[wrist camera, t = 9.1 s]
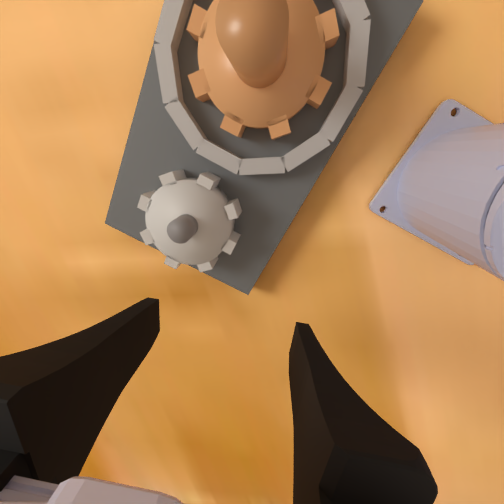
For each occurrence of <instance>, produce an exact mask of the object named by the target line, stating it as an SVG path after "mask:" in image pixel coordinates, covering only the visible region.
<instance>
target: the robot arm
mask: <svg viewBox="0 0 504 504" xmlns="http://www.w3.org/2000/svg"><path fill="white" fill-rule="evenodd" d="M452 109H455V110H456V114H455V116H452V115H451V111H452ZM382 206H385V210H384V211H383V212H380V208H381V207H382ZM369 209H370V210H371V211H372V212H374V213H376V214H377V215H379V216H381V217H383V218H385V219H386V220H388V221H390V222H392V223H394V224H395V225H397V226H399V227H401V228H403V229H404V230H406V231H408V232H410V233H412V234H414V235H415V236H417V237H419V238H421V239H423V240H424V241H426V242H428V243H430V244H432V245H433V246H435V247H437V248H439V249H441V250H443V251H444V252H446V253H448V254H450V255H452V256H453V257H455V258H457V259H459V260H461V261H462V262H464V263H466V264H468V265H473V264H476V265H477V266H479V267H481V268H482V269H484V270H486V271H487V272H489V273H491V274H492V275H494V276H496V277H498V278H499V279H501V280H503V281H504V123H500V124H493V123H491V122H490V121H488V120H486V119H485V118H483V117H482V116H480V115H478V114H477V113H475V112H473V111H472V110H470V109H468V108H467V107H465V106H464V105H462V104H460V103H459V102H457V101H455V100H453V99H448V100H445V101H443V102H442V103H441V104H440V105H439V106H438V107H437V109H436V110H435V112H434V113H433V114H432V116H431V117H430V119H429V120H428V121H427V123H426V124H425V126H424V127H423V128H422V130H421V131H420V133H419V134H418V135H417V137H416V138H415V140H414V141H413V143H412V144H411V145H410V147H409V148H408V150H407V151H406V152H405V154H404V155H403V157H402V158H401V159H400V161H399V162H398V164H397V165H396V167H395V168H394V169H393V171H392V172H391V174H390V175H389V176H388V178H387V179H386V181H385V182H384V183H383V185H382V186H381V188H380V189H379V191H378V192H377V193H376V195H375V196H374V198H373V199H372V200H371V202H370V204H369ZM159 331H160V321H159V299H154V298H146V299H144V300H142V301H140V302H138V303H136V304H134V305H132V306H131V307H129V308H127V309H125V310H123V311H121V312H120V313H118V314H116V315H114V316H112V317H110V318H108V319H106V320H104V321H102V322H100V323H98V324H96V325H94V326H92V327H89V328H87V329H85V330H83V331H80V332H78V333H75V334H73V335H70V336H68V337H65V338H62V339H59V340H56V341H53V342H51V343H48V344H45V345H42V346H39V347H35V348H32V349H28V350H25V351H21V352H17V353H14V354H10V355H6V356H2V357H0V504H183V503H182V502H181V501H179V500H178V499H177V498H175V497H173V496H170V495H167V494H164V493H162V492H158V491H153V490H148V489H143V488H139V487H134V486H129V485H124V484H119V483H115V482H110V481H105V480H100V479H96V478H91V477H78V476H79V474H80V472H81V469H82V467H83V465H84V463H85V461H86V459H87V457H88V455H89V453H90V451H91V449H92V447H93V445H94V443H95V441H96V439H97V437H98V435H99V433H100V431H101V429H102V427H103V425H104V423H105V421H106V419H107V417H108V416H109V414H110V412H111V410H112V408H113V406H114V405H115V403H116V401H117V399H118V397H119V396H120V394H121V392H122V391H123V389H124V388H125V386H126V385H127V383H128V382H129V380H130V379H131V377H132V376H133V374H134V373H135V371H136V370H137V368H138V367H139V365H140V364H141V363H142V361H143V360H144V358H145V357H146V355H147V354H148V352H149V351H150V349H151V347H152V345H153V344H154V342H155V340H156V338H157V336H158V333H159ZM289 380H290V390H291V401H292V411H293V425H294V484H293V504H433V503H434V501H435V498H436V496H437V494H438V488H437V484H436V482H435V480H434V478H433V476H432V474H431V471H430V469H429V467H428V465H427V463H426V461H425V459H424V457H423V455H422V454H421V452H420V450H419V448H417V447H416V446H415V445H414V444H412V443H411V442H410V441H409V440H407V439H406V438H405V437H403V436H402V435H401V434H400V433H398V432H397V431H396V430H395V429H393V428H392V427H391V426H390V425H389V424H388V423H387V422H385V421H384V420H383V419H382V418H381V417H380V416H379V415H378V414H377V413H376V412H374V411H373V410H372V409H371V408H370V407H369V406H368V405H367V404H366V403H365V402H364V401H363V400H362V399H361V398H360V397H359V396H358V394H357V393H356V392H355V391H354V390H353V389H352V388H351V387H350V385H349V384H348V383H347V382H346V381H345V380H344V378H343V377H342V376H341V375H340V373H339V372H338V371H337V369H336V368H335V366H334V365H333V364H332V362H331V361H330V359H329V358H328V356H327V355H326V353H325V351H324V350H323V348H322V347H321V345H320V343H319V342H318V340H317V338H316V336H315V335H314V333H313V331H312V329H311V327H310V326H309V324H305V323H299V322H296V326H295V330H294V335H293V339H292V343H291V348H290V352H289Z"/></svg>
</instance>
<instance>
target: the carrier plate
mask: <svg viewBox="0 0 504 504" xmlns="http://www.w3.org/2000/svg"><path fill="white" fill-rule="evenodd" d="M313 1H314V3H315V5H316V7H317V9H318V11H319V14H322V13H324V12H326V11H329V10H331V9H333V8H335V12H336V18H337V23H338V29H339V35H340V36H339V38H338V40H337V42H336V44H335V46H333V47H331V48H329V49H326V50H325V56H324V63H323V68H322V72H321V75H320V76H321V77H323V78H325V79H326V80H328V81H330V82H332V84H331V86H330V88H329V90H328V92H327V93H326V95H325V97H324V99H323V101H322V103H321V105H320V106H319V107H318V108H317V109H316V108H314V107H312V106H311V105H309V104H307V103H306V104H305V106H304V107H303V108H302V109H301V110H300V111H299V112H298V113H297V114H296V115H295V116H294V117H293V118H291V119H290V120H288V123H289V127H290V131H291V133H290V134H288V135H285V136H282V137H280V138H277V139H274V140H272V139H271V135H270V132H269V128H267V129H255V128H249V127H246V128H245V130H244V132H243V135H242V137H241V138H240V137H237V136H235V135H233V134H231V133H229V132H227V131H226V130H224V129H222V128H220V126H221V123H222V121H223V118H224V116H225V114H223V113H222V112H221V111H220V110H219V109H218V108H217V107H216V106H215V104H214V103H213V101H212V100H211V99H209V100H207V101H205V102H202V101H200V100H198V99H197V98H196V97H195V95H194V92H193V89H192V86H191V83H190V81H189V78H188V75H189V74H192V73H194V72H196V71H198V70H199V65H198V42H197V41H195V40H194V38H193V37H192V36H191V35H190V33H189V32H188V31H187V30H186V29H187V26H188V23H189V19H190V16H191V13H192V9H193V6H194V4H196V5H198V6H199V7H201V8H203V9H205V10H206V11H208V9H209V7H210V5H211V3H212V2H213V0H164V4H163V7H162V11H161V15H160V19H159V22H158V26H157V30H156V33H155V37H154V44H153V47H152V51H151V55H150V58H149V62H148V66H147V69H146V73H145V77H144V81H143V84H142V88H141V92H140V95H139V99H138V103H137V106H136V110H135V114H134V117H133V121H132V125H131V129H130V132H129V136H128V140H127V143H126V147H125V151H124V154H123V158H122V162H121V166H120V169H119V173H118V177H117V180H116V184H115V188H114V191H113V195H112V199H111V202H110V206H109V210H108V214H107V217H106V221H105V224H107V225H109V226H111V227H113V228H115V229H117V230H119V231H121V232H123V233H125V234H127V235H129V236H131V237H133V238H135V239H137V240H139V241H141V242H143V243H145V245H149V246H151V247H153V248H155V249H157V250H159V251H161V252H162V253H163V254H164V255H165V256H167V257H166V259H165V262H164V264H166V265H168V266H170V267H172V268H174V269H177V268H178V267H179V266H180V264H181V263H182V264H187V265H189V266H191V267H193V268H195V269H197V270H199V271H200V272H203V273H205V274H207V275H209V276H211V277H213V278H215V279H217V280H219V281H221V282H223V283H225V284H227V285H229V286H231V287H233V288H235V289H237V290H239V291H241V292H243V293H245V294H247V295H248V294H249V293H250V291H251V289H252V288H253V286H254V284H255V283H256V281H257V279H258V278H259V276H260V274H261V273H262V271H263V269H264V268H265V266H266V264H267V263H268V261H269V259H270V257H271V256H272V254H273V252H274V251H275V249H276V247H277V246H278V244H279V242H280V241H281V239H282V237H283V236H284V234H285V232H286V231H287V229H288V227H289V226H290V224H291V222H292V221H293V219H294V217H295V216H296V214H297V212H298V211H299V209H300V207H301V205H302V204H303V202H304V200H305V199H306V197H307V195H308V194H309V192H310V190H311V189H312V187H313V185H314V184H315V182H316V180H317V179H318V177H319V175H320V174H321V172H322V170H323V169H324V167H325V165H326V164H327V162H328V160H329V159H330V157H331V155H332V153H333V152H334V150H335V148H336V147H337V145H338V143H339V142H340V140H341V138H342V137H343V135H344V133H345V132H346V130H347V128H348V127H349V125H350V123H351V122H352V120H353V118H354V117H355V115H356V113H357V112H358V110H359V108H360V107H361V105H362V103H363V101H364V100H365V98H366V96H367V95H368V93H369V91H370V90H371V88H372V86H373V85H374V83H375V81H376V80H377V78H378V76H379V75H380V73H381V71H382V70H383V68H384V66H385V65H386V63H387V61H388V60H389V58H390V56H391V55H392V53H393V51H394V49H395V48H396V46H397V44H398V43H399V41H400V39H401V38H402V36H403V34H404V33H405V31H406V29H407V28H408V26H409V24H410V23H411V21H412V19H413V18H414V16H415V14H416V13H417V11H418V9H419V8H420V6H421V4H422V3H423V0H313Z"/></svg>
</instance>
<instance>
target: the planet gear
mask: <svg viewBox="0 0 504 504" xmlns="http://www.w3.org/2000/svg"><path fill="white" fill-rule="evenodd" d="M186 30H187V31H188V32H189V33H190V35H191V36H192V37H193V38H194V40H195V41H197V42H198V65H199V70H198V71H196V72H194V73H192V74H189V75H188V78H189V81H190V83H191V86H192V89H193V92H194V95H195V97H196V98H197V99H198V100H200V101H202V102H205V101H207V100H209V99H211V100H212V101H213V103H214V104H215V106H216V107H217V108H218V109H219V110H220V111H221V112H222V113H223V114H225V116H224V118H223V121H222V123H221V126H220V128H222V129H224V130H226V131H227V132H229V133H231V134H233V135H235V136H237V137H240V138H241V137H242V135H243V132H244V130H245V128H246V127H249V128H255V129H267V128H269V132H270V135H271V139H272V140H274V139H277V138H280V137H282V136H285V135H288V134H290V133H291V131H290V127H289V123H288V120H290V119H291V118H293V117H294V116H295V115H296V114H297V113H298V112H299V111H300V110H301V109H302V108H303V107H304V106H305V104H306V103H307V104H309V105H311V106H312V107H314V108H316V109H317V108H318V107H319V106H320V105H321V103H322V101H323V99H324V97H325V95H326V93H327V92H328V90H329V88H330V86H331V84H332V82H330V81H328V80H326V79H325V78H323V77H321V76H320V75H321V72H322V68H323V63H324V56H325V50H326V49H329V48H331V47H333V46H335V44H336V42H337V40H338V38H339V36H340V35H339V29H338V23H337V18H336V12H335V8H333V9H331V10H329V11H326V12H324V13H322V14H319V11H318V9H317V7H316V5H315V3H314V1H313V0H213V2H212V3H211V5H210V7H209V9H208V11H206V10H205V9H203V8H201V7H199V6H198V5H196V4H194V6H193V9H192V13H191V16H190V19H189V23H188V26H187V29H186Z"/></svg>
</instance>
